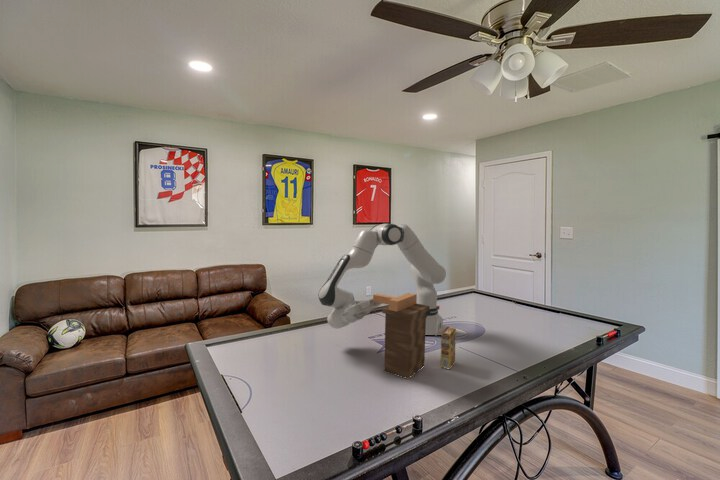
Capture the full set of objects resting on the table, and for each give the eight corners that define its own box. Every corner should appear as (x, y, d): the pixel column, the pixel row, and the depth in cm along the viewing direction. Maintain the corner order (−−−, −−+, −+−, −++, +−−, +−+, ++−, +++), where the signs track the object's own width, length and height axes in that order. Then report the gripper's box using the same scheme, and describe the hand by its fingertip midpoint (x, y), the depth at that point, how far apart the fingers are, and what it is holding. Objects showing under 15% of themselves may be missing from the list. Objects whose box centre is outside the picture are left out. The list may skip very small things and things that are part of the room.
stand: (400, 358, 149) (402, 300, 147) (427, 366, 141) (429, 305, 139) (380, 371, 136) (382, 308, 134) (409, 381, 128) (410, 314, 127)
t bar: (384, 297, 153) (385, 288, 152) (416, 303, 143) (416, 294, 143) (364, 304, 140) (364, 295, 140) (397, 311, 130) (397, 301, 130)
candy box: (449, 370, 138) (451, 333, 137) (439, 367, 140) (441, 332, 139) (455, 362, 146) (456, 327, 145) (445, 360, 148) (446, 326, 147)
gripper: (337, 309, 146) (359, 298, 138) (365, 300, 162) (386, 289, 154) (342, 323, 144) (365, 312, 137) (370, 312, 161) (391, 302, 153)
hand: (376, 300), depth 146 cm, fingers open, 8 cm apart
